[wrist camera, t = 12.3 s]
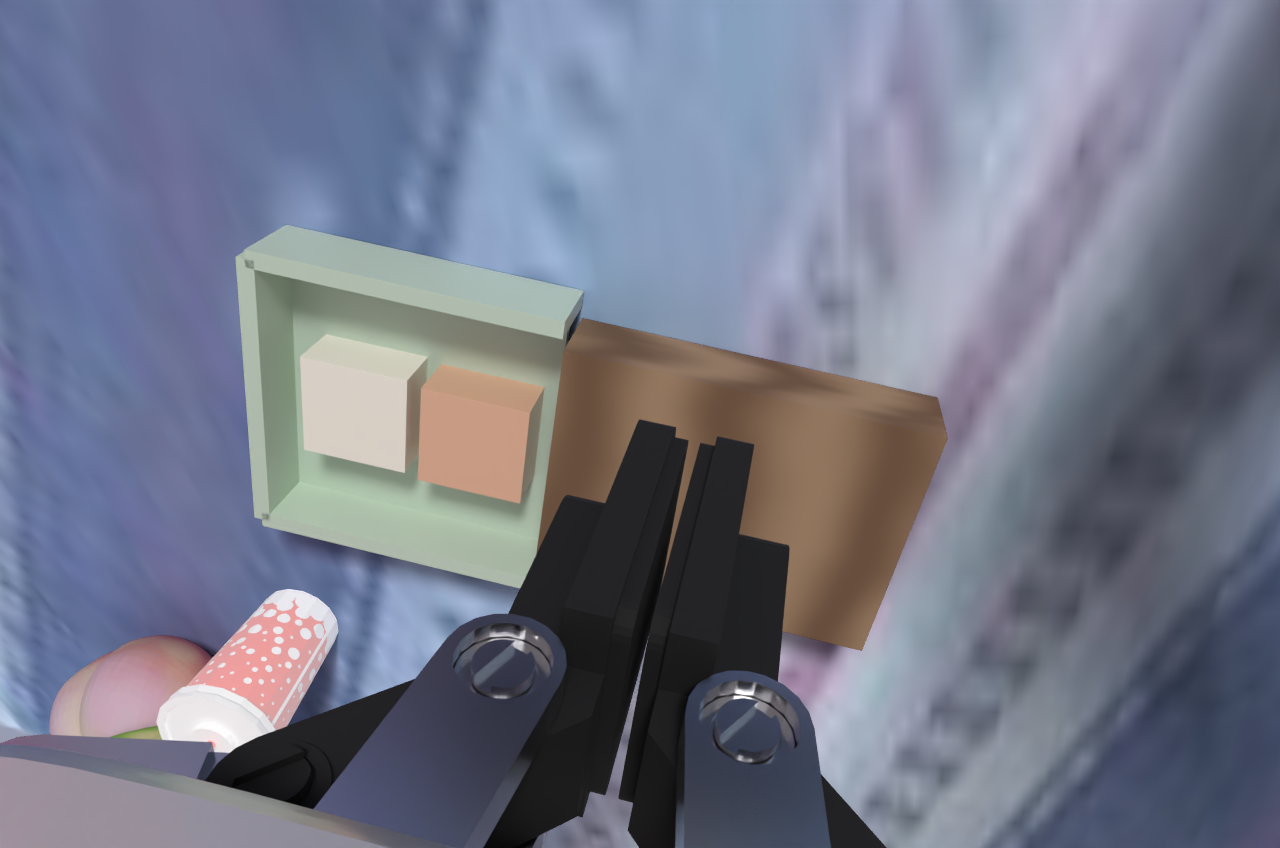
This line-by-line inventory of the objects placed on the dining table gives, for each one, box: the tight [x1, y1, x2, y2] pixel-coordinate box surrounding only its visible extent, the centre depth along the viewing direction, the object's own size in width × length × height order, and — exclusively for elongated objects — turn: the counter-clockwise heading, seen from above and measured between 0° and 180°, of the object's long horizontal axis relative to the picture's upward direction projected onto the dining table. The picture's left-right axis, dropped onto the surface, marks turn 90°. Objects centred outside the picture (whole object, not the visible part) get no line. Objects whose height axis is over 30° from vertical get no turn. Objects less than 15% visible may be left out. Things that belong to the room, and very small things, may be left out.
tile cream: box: [300, 334, 428, 473], centre depth 42 cm, size 5×5×2 cm
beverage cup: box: [156, 589, 338, 753], centre depth 47 cm, size 6×6×14 cm
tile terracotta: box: [418, 364, 545, 504], centre depth 42 cm, size 5×5×2 cm
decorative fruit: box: [50, 635, 212, 740], centre depth 51 cm, size 9×8×10 cm
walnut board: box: [536, 318, 948, 651], centre depth 41 cm, size 16×12×4 cm
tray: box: [236, 225, 584, 588], centre depth 42 cm, size 14×15×4 cm
